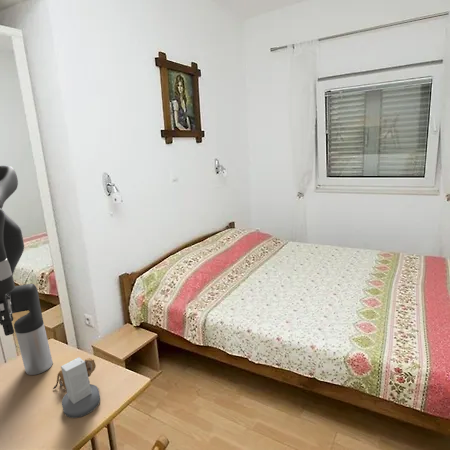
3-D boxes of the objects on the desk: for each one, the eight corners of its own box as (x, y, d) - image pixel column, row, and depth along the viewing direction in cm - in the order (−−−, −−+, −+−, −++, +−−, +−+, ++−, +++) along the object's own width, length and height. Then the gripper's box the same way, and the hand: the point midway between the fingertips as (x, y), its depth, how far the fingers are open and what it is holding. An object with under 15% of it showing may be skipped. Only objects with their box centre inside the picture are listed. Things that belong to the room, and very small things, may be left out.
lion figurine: (99, 375, 124) (94, 353, 121) (97, 385, 119) (93, 362, 116) (54, 385, 120) (49, 363, 118) (51, 396, 115) (46, 373, 113)
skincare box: (86, 387, 113) (79, 356, 110) (92, 393, 110) (85, 361, 107) (67, 398, 109) (60, 366, 106) (73, 405, 106) (66, 371, 103)
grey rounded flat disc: (61, 401, 112) (59, 393, 111) (96, 386, 118) (94, 379, 117) (66, 423, 103) (64, 415, 102) (103, 407, 109) (102, 399, 108)
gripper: (-19, 272, 100) (-5, 321, 105) (-22, 288, 89) (-7, 344, 93) (11, 265, 104) (23, 313, 108) (12, 280, 92) (25, 334, 97)
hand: (9, 327), depth 101 cm, fingers open, 8 cm apart
